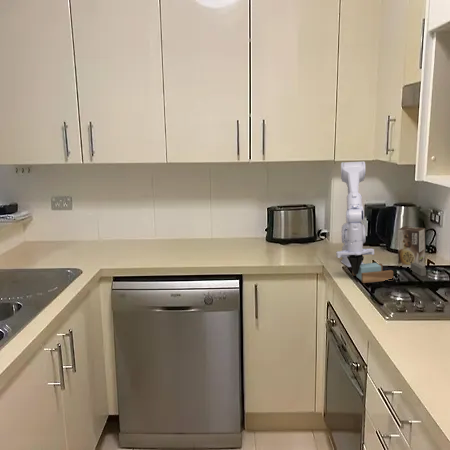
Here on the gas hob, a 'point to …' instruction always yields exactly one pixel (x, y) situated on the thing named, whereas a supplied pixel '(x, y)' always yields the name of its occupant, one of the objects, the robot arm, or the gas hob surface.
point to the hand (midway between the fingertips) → (355, 273)
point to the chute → (376, 275)
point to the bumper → (418, 269)
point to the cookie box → (411, 246)
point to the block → (368, 269)
